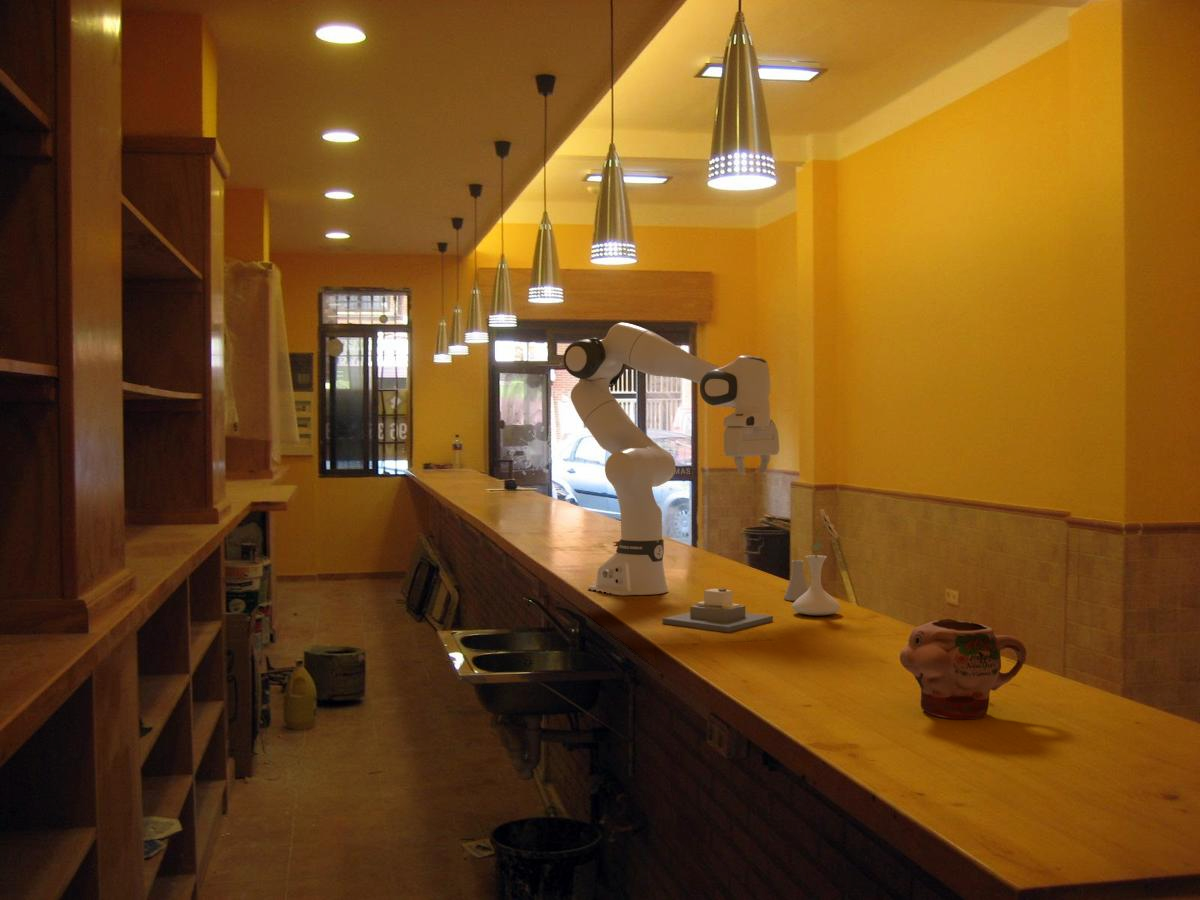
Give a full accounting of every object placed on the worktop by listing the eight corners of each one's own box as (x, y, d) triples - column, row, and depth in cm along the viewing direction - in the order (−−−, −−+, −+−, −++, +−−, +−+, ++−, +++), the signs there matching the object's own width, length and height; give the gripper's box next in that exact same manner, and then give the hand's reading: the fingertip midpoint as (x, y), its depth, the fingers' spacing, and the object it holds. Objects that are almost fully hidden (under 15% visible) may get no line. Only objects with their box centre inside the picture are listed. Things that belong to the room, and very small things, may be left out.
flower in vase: (827, 620, 262) (827, 511, 262) (783, 615, 269) (782, 509, 268) (851, 612, 273) (851, 508, 272) (808, 608, 279) (808, 506, 279)
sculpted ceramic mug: (1003, 699, 187) (1003, 615, 186) (1043, 719, 175) (1043, 628, 174) (887, 705, 184) (887, 619, 183) (920, 725, 171) (920, 633, 171)
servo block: (696, 615, 262) (696, 587, 262) (706, 613, 265) (706, 585, 265) (730, 620, 256) (730, 591, 256) (740, 617, 259) (740, 589, 259)
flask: (814, 602, 289) (814, 562, 289) (785, 602, 289) (785, 562, 289) (809, 597, 296) (809, 559, 296) (781, 597, 296) (781, 559, 296)
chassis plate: (662, 623, 260) (662, 607, 259) (708, 613, 273) (708, 597, 273) (728, 632, 248) (728, 615, 248) (772, 621, 261) (772, 605, 261)
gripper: (764, 419, 299) (764, 471, 300) (719, 419, 284) (719, 475, 284) (785, 419, 295) (785, 472, 296) (740, 419, 280) (740, 475, 280)
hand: (752, 473), depth 290 cm, fingers open, 8 cm apart
